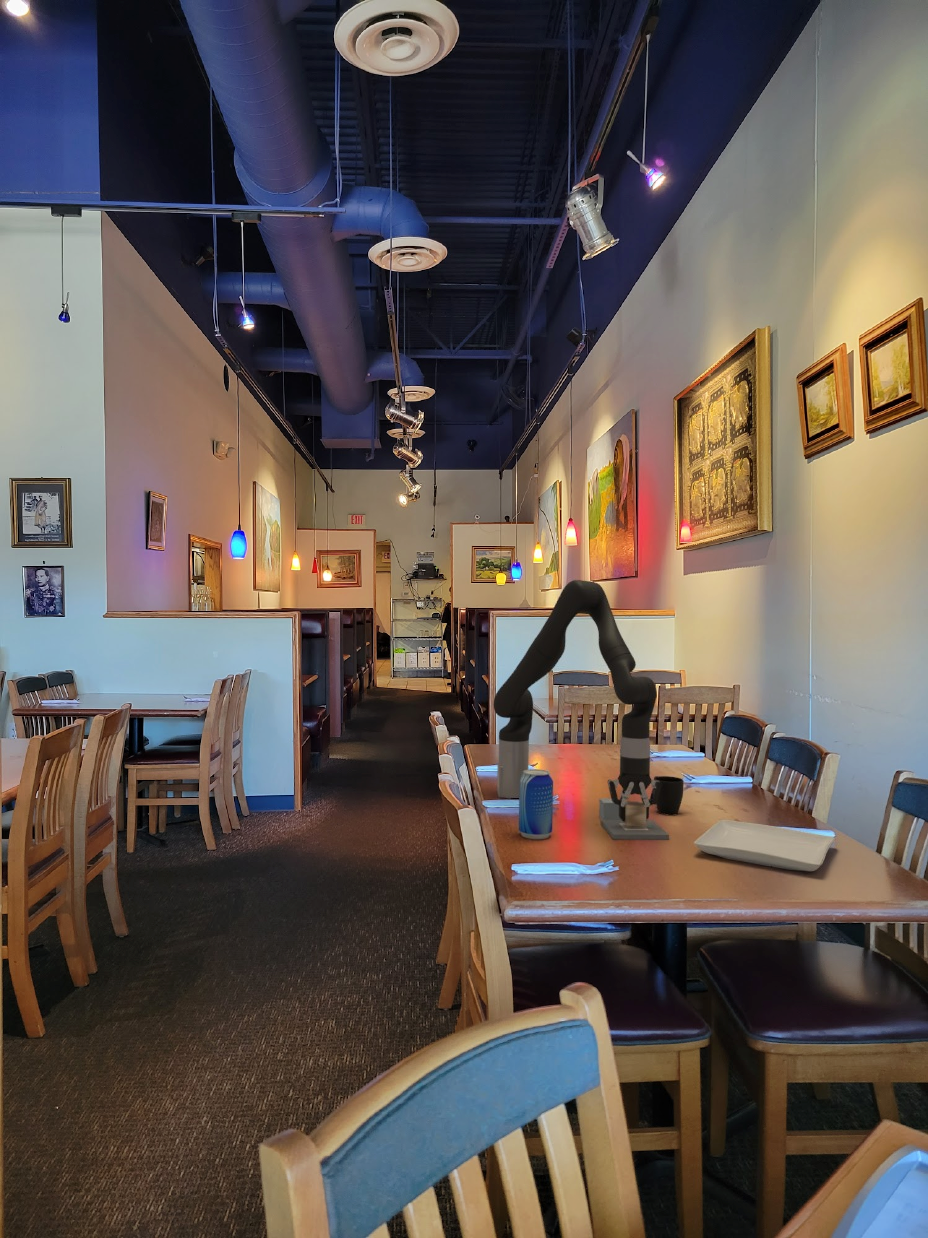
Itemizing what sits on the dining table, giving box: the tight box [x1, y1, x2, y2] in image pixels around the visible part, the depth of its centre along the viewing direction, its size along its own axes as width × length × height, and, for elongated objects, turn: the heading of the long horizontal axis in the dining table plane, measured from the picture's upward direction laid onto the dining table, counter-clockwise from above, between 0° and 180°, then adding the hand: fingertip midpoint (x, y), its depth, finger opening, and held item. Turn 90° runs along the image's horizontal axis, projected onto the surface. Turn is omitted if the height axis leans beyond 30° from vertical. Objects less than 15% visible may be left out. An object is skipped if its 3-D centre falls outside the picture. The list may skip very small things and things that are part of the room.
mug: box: [653, 775, 685, 816], centre depth 220 cm, size 8×12×10 cm
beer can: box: [518, 768, 554, 840], centre depth 193 cm, size 8×8×16 cm
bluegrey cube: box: [598, 797, 621, 820], centre depth 211 cm, size 5×5×5 cm
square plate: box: [693, 819, 836, 872], centre depth 182 cm, size 27×27×4 cm
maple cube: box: [623, 800, 646, 826], centre depth 198 cm, size 5×5×5 cm
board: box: [600, 819, 670, 841], centre depth 198 cm, size 14×14×1 cm
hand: (633, 820), depth 198 cm, fingers closed on maple cube, 4 cm apart
